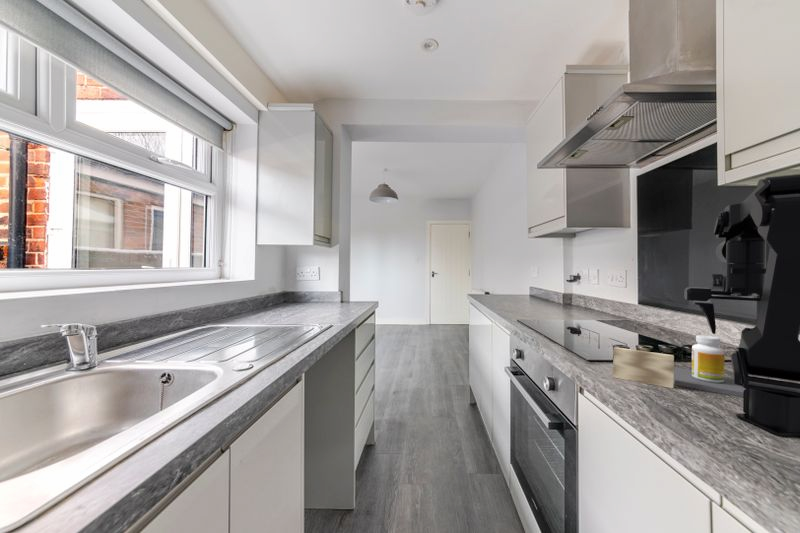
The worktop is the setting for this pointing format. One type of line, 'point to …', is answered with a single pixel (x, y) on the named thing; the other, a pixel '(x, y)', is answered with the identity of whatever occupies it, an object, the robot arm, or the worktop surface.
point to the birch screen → (643, 366)
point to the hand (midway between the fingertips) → (743, 336)
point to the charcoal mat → (707, 383)
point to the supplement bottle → (708, 359)
